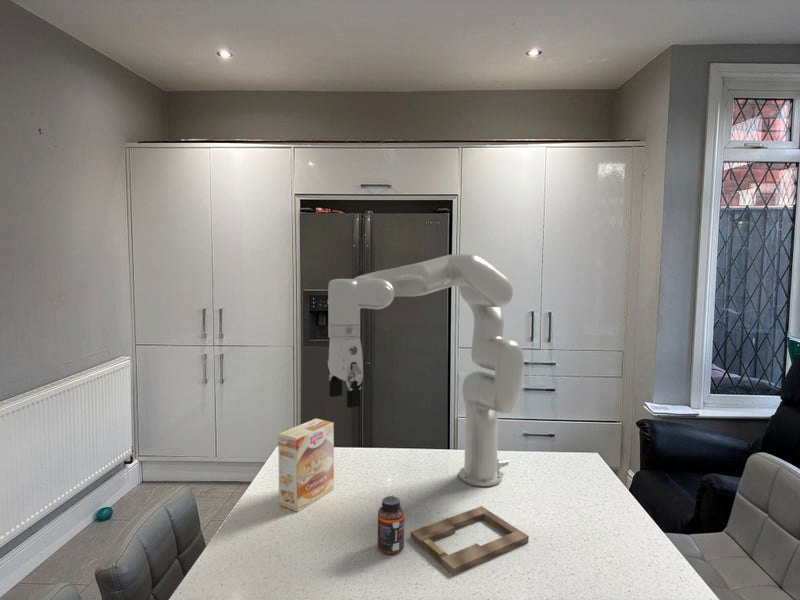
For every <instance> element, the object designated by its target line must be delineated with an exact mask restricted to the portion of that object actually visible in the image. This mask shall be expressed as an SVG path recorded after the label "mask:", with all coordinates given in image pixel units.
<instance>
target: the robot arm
mask: <svg viewBox="0 0 800 600" xmlns="http://www.w3.org/2000/svg"><path fill="white" fill-rule="evenodd" d="M455 286H458V287H459V293H460V296H461V298H462V299H463V300H464V301H465V302H466V304H467V305H468V306H469V308H470V309H471V312H472V314H473V320H474V321H473V333H472V342H471V350H470V351H471V352H470V353H471V354H470V355H471V357H470V358H471V361H472V362H473V364H475V366H478V367H480V368H482V369H487V370H489V371H494V374H492V373H489V372H485V371H473V372H470V373H468V374H467V375H466V377H465V378H464V380H463V381H462V390H461V391H462V398H463V402H464V409H465V410H464V412H465V414H464V417H465V418H464V419H465V420H464V421H465V423H464V431H465V432H464V466H463V467H461V468H460V469H459V471H458V472H459V473H458V476H459V478H460V479H461V481H463V482H464V483H466V484H469V485H471V486H477V487H491V486H492V487H493V486H496V485H498V484H499V483H501V482H502V480H503V474H502V473H503V472H501V471H500V469H502V468H503V467H507V466H509V460H508V459H506V458H505V459H501V460H500V458H498V442H499V441H498V439H499V437H498V433H499V432H498V431H499V417H498V414H497V412H498V413H501V414H509V413H512V412H513V411H514V410H515V409H516V407H517V406H518V404H519V400H520V397H521V391H522V390H521V388H522V383H523V382H522V381H523V373H524V372H523V371H524V361H525V360H524V358H525V357H524V353H523V349H522V347H521V346H520V344H519V343H518V342H516V341H514V340H512V339H507V338H504V324H505V322H504V321H505V319H504V314H503V311H502V308H503V307H506V306H507V305H508V304H509V303H510V302H511V300H512V299H513V296H514V294H513V293H514V292H513V291H514V289H513V286H512V283H511V281H510V280H509V278H507V277H506V276H505V275H503V273H501V272H500V271H499V270H497V269H496V268H495V267H494V266H493V265H491V264H490V263H488V262H487V261H486V260H484V259H482V258H481V257H480V256H478V255H475V254H466V253H465V254H463V253H462V254H454V253H453V254H448V255H443V256H439V257H435V258H433V259H432V258H431V259H428V260H425V261H420V262H417V263H416V262H415V263H411V264H408V265H407V264H406V265H402V266H398V267H393V268H388V269H382V270H377V271H373V272H369V273H366V274H361V275H359V276H356V277H353V278H335V279H334V278H333V279H332V280H331V279H330V281H329V282H328V288H327V289H328V291H327V293H328V294H327V296H328V298H327V300H328V301H327V303H328V304H327V305H328V308H327V309H328V313H327V314H328V325H327V326H328V329H327V330H328V332H327V333H328V338H329V344H328V345H329V346H328V360H327V367H328V370H327V372H328V374H329V375H328V381H329V389H328V390H329V397H331V398H335V397H341V396H342V395H343V381H344V382H346V385H347V390H346V407H347V408H354V407H359V406H361V389H362V385H363V379H364V363H363V362H364V361H363V348H362V342H361V309H369V310H381V309H384V308H387V307H388V306H389V305H391V304H392V302H393V301H394V299H395V297H421V296H425V295H429V294H431V293H435V292H439V291H441V290H445V289H448V288H452V287H455Z"/></svg>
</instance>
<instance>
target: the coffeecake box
mask: <svg viewBox="0 0 800 600" xmlns="http://www.w3.org/2000/svg"><path fill="white" fill-rule="evenodd" d="M334 424H335V423H334V422H333V421H330V420H329V421H328V420H325V419H320V418H314V419H312V420H309V421H307V422H304V423H302V424H299V425H296V426H294V427H292V428H289V429H287V430H285V431H283V432H282V431H281V432H279V433H278V434H277V438H278V441H277V443H278V447H277V448H278V449H277V451H278V505H279V506H281V505H282V506H281V507H285V508H286V507H287V509H289V508H290V509H289V510H291V509H292V510H291V511H293V510H294V511H293V512H296V511H297V512H296V513H298V511H299V512H300V511H302V510H304V509H305V508H306V507H308V506H310V505H311V504H312V503H315V502H316V501H317V500H319V499H321V498H323V496H325V495H327V494H328V493H330V492H331V491H334V489H335V486H334V485H335V480H334V479H335V473H334V472H335V467H334V466H335V462H334V461H335V458H334V457H335V455H334V453H335V452H334V451H335V449H334V448H335V447H334V445H335V443H334V442H335V438H334V437H335V435H334V433H335V432H334V428H335V427H334V426H335V425H334Z"/></svg>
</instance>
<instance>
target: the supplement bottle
mask: <svg viewBox="0 0 800 600" xmlns="http://www.w3.org/2000/svg"><path fill="white" fill-rule="evenodd" d="M377 511H378V512H377V548H378V551H380V552H381V553H382V554H386V555H397V554H399V553H401V552H402V551H403V549H404V547H405V545H404V544H405V510H404V508H403V507H402V506H401V500H400V498H399V497H397V496H395V495H392V496H391V495H389V496H385V497H383V498H382V499H381V506H380V508H378V510H377Z"/></svg>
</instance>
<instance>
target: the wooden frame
mask: <svg viewBox="0 0 800 600" xmlns="http://www.w3.org/2000/svg"><path fill="white" fill-rule="evenodd" d="M483 520H484V521H486V522H487V523H488V524H490V525H491V526H493V527H494V528H496V529H498V530H499V529H500V530H499V531H501V532H502V531H503V532H502V533H503V534H505V535H504V536H501V537H498V538H496V539H494V540H491V541H489V542H487V543H484V544H482V545H480V544H479V543H474V544H472V545H469V546H467V547H464V548H462V549H460V550H457V551H455V552H452V553H450V554H448V552H446V551H445V550H444V549H443V548H441V546H440V545H438V544H437V543H435V542H437V541H440V540H442V539H445V538H447V537H450V536H452V535H454V534H455V535H456V530H460V529H462V528H465V527H466V526H469V525H471V524H475V523H477V522H480V521H483ZM476 521H477V522H476ZM474 522H475V523H474ZM506 534H507V535H506ZM410 539H411V540H412V541H414V542H415V543H416V544H417V545H418V546H419V547H421V549H423V550H424V551H425V552H426V553H427V554H428V555H430V556H431V557H432V558H433V559H434V560H435V561H436V562H438V563H439V564H440V565H441V566H442V567H444V569H445V570H447V571H448V572H449V573H450V574H451V575H452V576H455V575H458V574H460V573H462V572H464V571H467V570H469V569H471V568H473V567H476V566H477V565H480V564H482V563H485V562H487V561H490V560H491V559H494V558H496V557H498V556H501V555H503V554H506V553H507V552H510V551H512V550H514V549H515V550H516V548H519V547H522V546H523V545H526V544H528V543H529V535H527V534H526V533H525V532H523V531H522V530H520V529H518V528H516V527H515V526H514V525H512V524H510V523H509V522H507V521H506V520H504V519H503V518H501V517H499V516H498V515H497V514H495V513H494V512H491V511H490V510H489V509H487V508H485V507H484V506H483V505H481V506H478V507H476V508H471V509H469V510H467V511H464V512H461V513H458V514H455V515H453V516H450V517H447V518H445V519H441V520H439V521H436V522H433V523H431V524H428V525H425V526H422V527H419V528H417V529H414V530H411V531H410Z"/></svg>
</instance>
